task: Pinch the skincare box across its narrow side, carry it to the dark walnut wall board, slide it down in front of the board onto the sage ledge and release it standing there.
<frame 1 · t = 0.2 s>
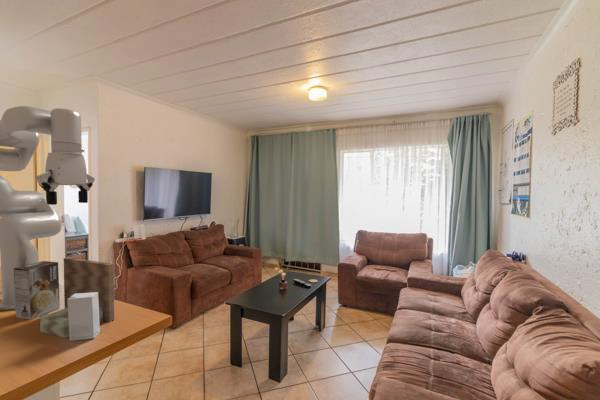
hand: (68, 203, 92), 36 cm above the counter, tool pointing down, fingers open, 9 cm apart
coffee box: (38, 313, 94), on the counter
wall board: (88, 315, 93), on the counter
skincare box: (84, 337, 81), on the counter
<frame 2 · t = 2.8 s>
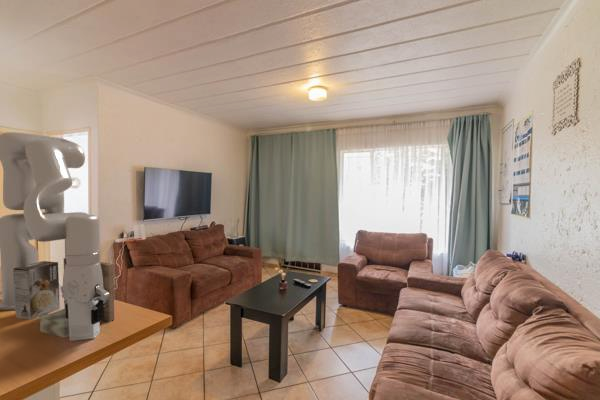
hand: (84, 319, 81), 5 cm above the counter, tool pointing down, fingers open, 9 cm apart
nothing on the counter moved.
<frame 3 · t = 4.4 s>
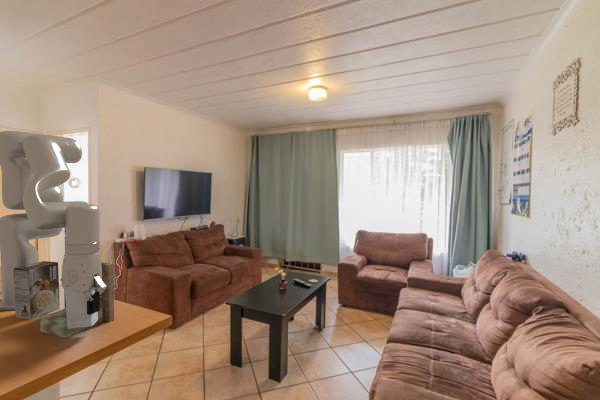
hand: (83, 309, 81), 7 cm above the counter, tool pointing down, fingers closed on skincare box, 7 cm apart
skincare box: (82, 325, 81), point 3 cm above the counter, touching gripper
everything else where it was.
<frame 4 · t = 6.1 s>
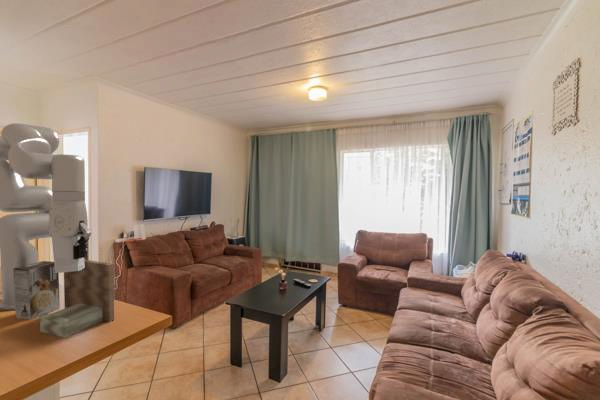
hand: (69, 256, 85), 21 cm above the counter, tool pointing down, fingers closed on skincare box, 7 cm apart
skincare box: (69, 271, 85), point 17 cm above the counter, touching gripper
everything else where it was.
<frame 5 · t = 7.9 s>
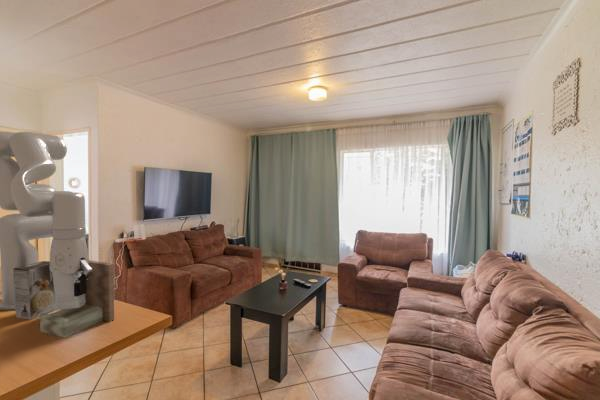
hand: (70, 292, 86), 10 cm above the counter, tool pointing down, fingers closed on skincare box, 7 cm apart
skincare box: (70, 307, 86), point 6 cm above the counter, touching gripper
everything else where it was.
when the fingers open (8 cm above the counter, at t = 9.0 s): skincare box stays where it is, resting on wall board.
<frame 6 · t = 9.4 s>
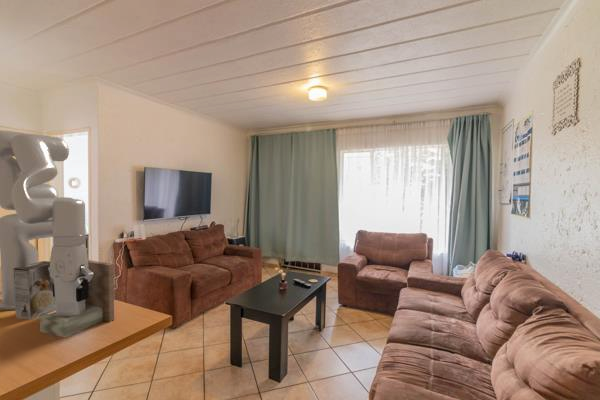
hand: (70, 297, 86), 9 cm above the counter, tool pointing down, fingers open, 9 cm apart
skincare box: (70, 314, 86), point 4 cm above the counter, touching wall board
everything else where it was.
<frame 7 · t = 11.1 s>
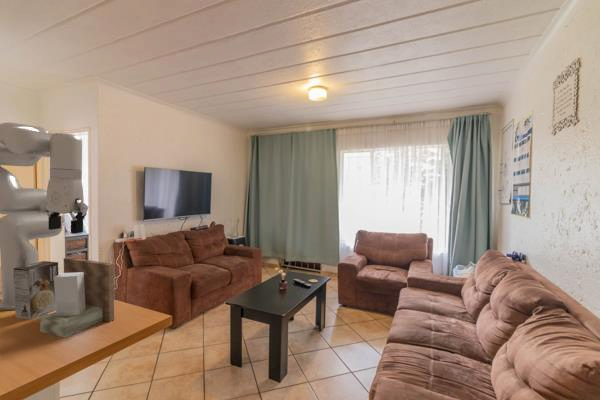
hand: (65, 231, 88), 28 cm above the counter, tool pointing down, fingers open, 9 cm apart
nothing on the counter moved.
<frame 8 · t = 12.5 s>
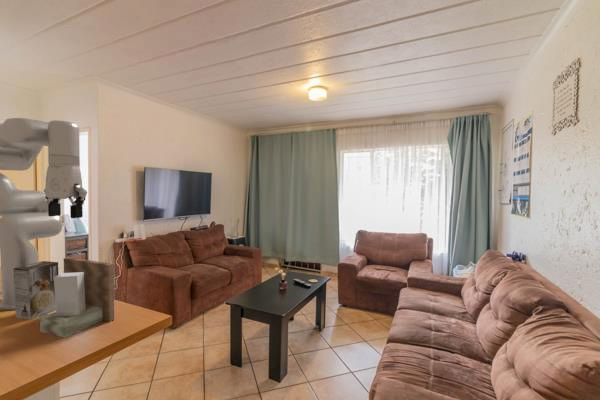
hand: (65, 216, 90), 32 cm above the counter, tool pointing down, fingers open, 9 cm apart
nothing on the counter moved.
at the end: skincare box inside the target area (0.4 cm from its centre), point 3.8 cm above the counter; skincare box tilted 0°; the gripper is holding nothing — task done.
